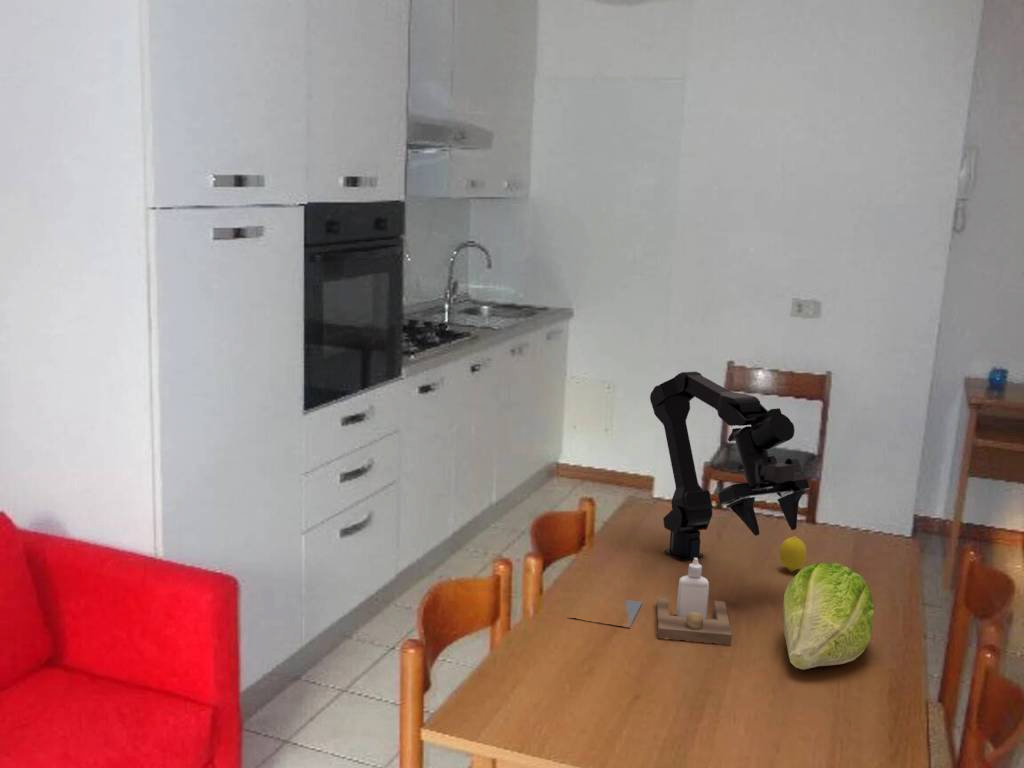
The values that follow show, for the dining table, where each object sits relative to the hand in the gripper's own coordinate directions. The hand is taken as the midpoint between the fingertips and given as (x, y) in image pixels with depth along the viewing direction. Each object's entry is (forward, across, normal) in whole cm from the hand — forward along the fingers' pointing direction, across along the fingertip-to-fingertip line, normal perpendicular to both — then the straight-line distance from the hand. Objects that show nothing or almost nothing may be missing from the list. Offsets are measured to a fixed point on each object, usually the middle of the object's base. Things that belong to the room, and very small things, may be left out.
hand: (775, 532), depth 194 cm
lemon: (+7, +17, +19) cm, 26 cm away
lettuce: (+24, -5, -9) cm, 26 cm away
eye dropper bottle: (+13, -18, +9) cm, 24 cm away
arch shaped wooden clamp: (+14, -20, +7) cm, 25 cm away
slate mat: (+8, -32, +16) cm, 37 cm away
